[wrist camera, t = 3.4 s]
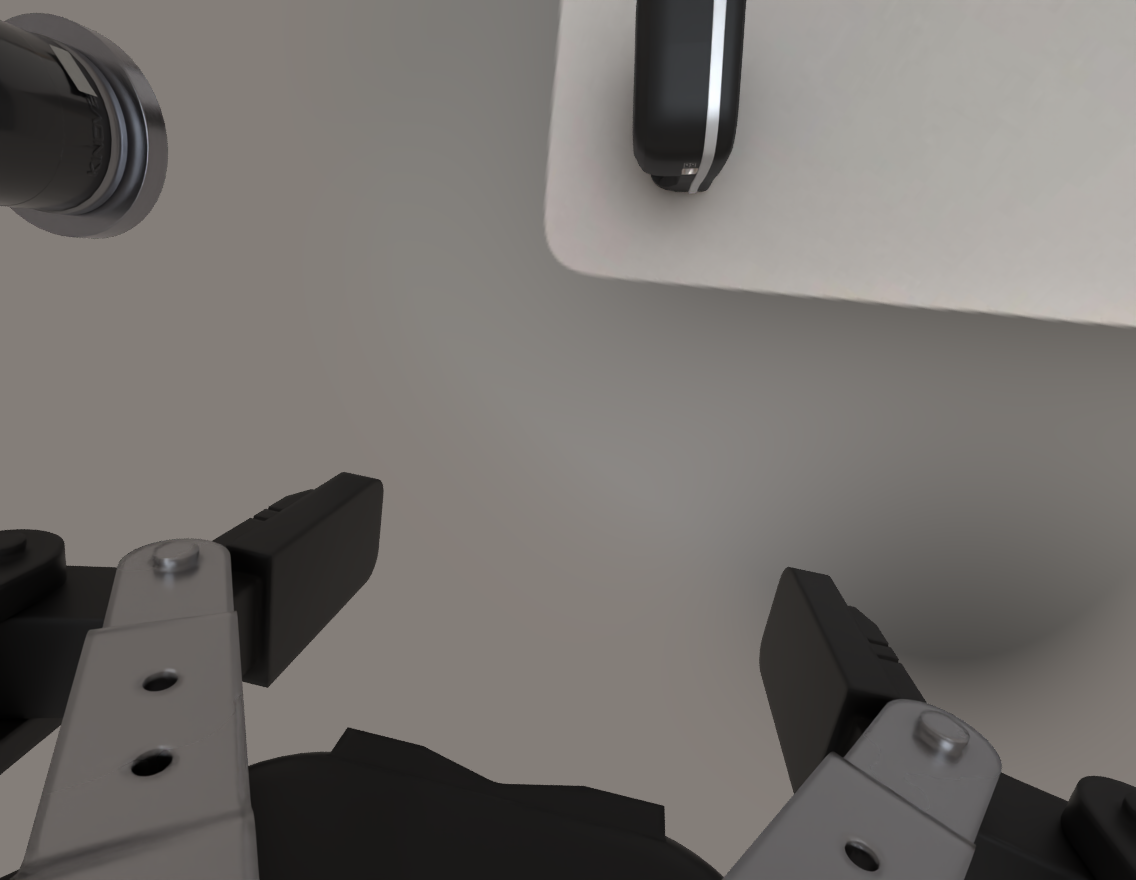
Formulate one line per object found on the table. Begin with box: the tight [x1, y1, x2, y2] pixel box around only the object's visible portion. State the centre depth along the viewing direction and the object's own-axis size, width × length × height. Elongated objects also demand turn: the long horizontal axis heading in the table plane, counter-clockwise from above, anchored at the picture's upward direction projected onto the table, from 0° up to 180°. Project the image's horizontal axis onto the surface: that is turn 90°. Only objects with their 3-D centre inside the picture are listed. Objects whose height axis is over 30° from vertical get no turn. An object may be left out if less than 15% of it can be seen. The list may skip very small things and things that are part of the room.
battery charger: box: [633, 0, 746, 193], centre depth 26 cm, size 7×4×11 cm, turn 0°
